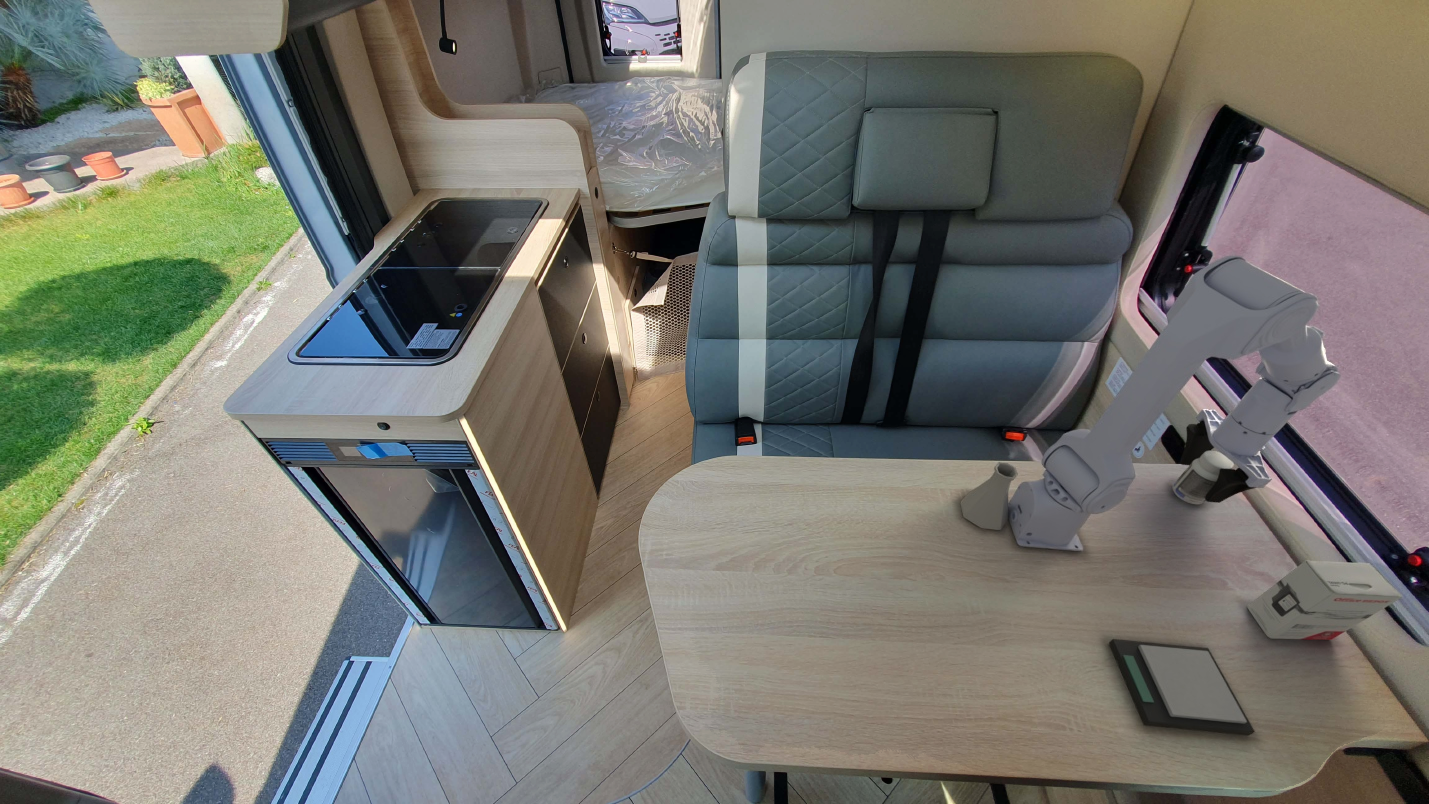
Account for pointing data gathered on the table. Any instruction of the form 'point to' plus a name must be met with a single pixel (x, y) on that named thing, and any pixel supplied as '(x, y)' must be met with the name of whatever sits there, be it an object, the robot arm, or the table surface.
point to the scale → (1179, 687)
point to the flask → (990, 499)
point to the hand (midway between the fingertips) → (1199, 481)
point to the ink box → (1322, 600)
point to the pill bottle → (1200, 477)
